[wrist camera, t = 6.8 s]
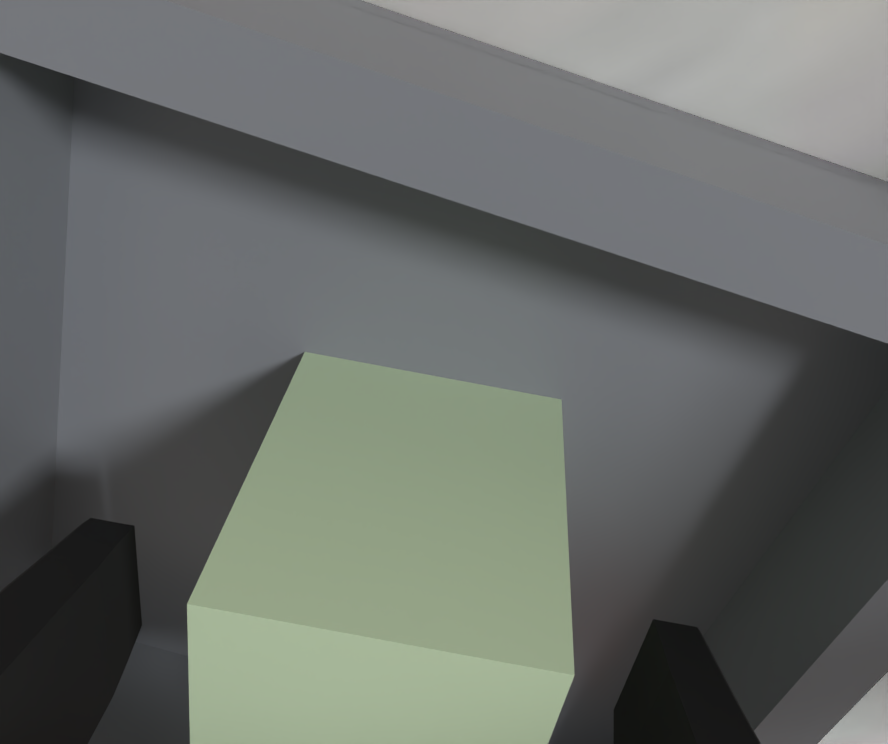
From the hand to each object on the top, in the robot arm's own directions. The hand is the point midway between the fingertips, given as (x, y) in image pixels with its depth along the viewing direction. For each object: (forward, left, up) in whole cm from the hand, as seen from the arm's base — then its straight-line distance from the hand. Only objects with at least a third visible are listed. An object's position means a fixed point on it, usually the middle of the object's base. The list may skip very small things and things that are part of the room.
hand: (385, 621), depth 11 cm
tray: (0, 0, -3) cm, 3 cm away
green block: (0, 0, -3) cm, 3 cm away
